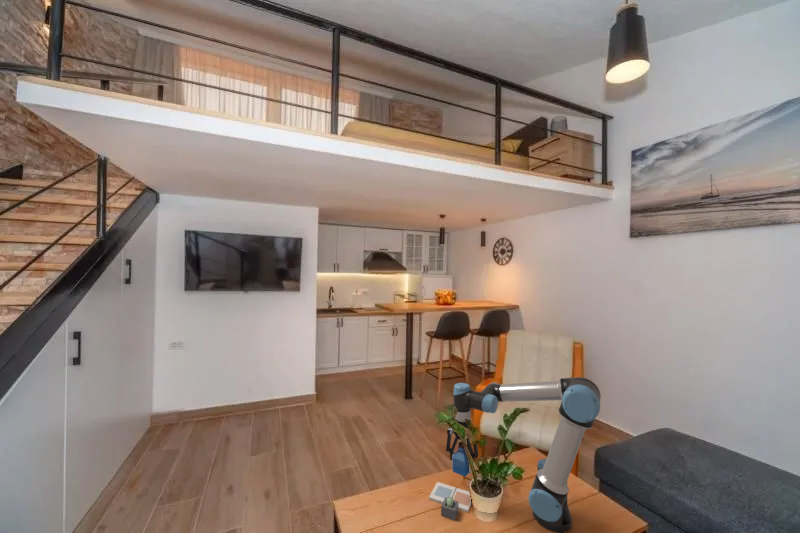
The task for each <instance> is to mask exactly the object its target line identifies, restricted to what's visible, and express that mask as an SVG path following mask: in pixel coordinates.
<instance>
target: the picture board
mask: <svg viewBox="0 0 800 533" xmlns="http://www.w3.org/2000/svg"><path fill="white" fill-rule="evenodd" d="M469 492H470V491H468V490H464V489H462V488H458V487H455V486H453V485H452V486H451V485H449V484H447V483H443V482H440V481H437V482H436V483H435V485H434V487H433V489H432V491H431V493H430V495H429V496H428V500H430V501H433V502H435V503H439V504H441V505H442V504H443V501H444V499H445V497H446V498H448V497H452V498H453V500H455V501H458V502H459V508H458V511H462V512H464V513H469V511H470V507H471V505H472V502H471V497H470V493H469Z"/></svg>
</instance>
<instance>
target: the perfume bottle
mask: <svg viewBox="0 0 800 533" xmlns="http://www.w3.org/2000/svg"><path fill="white" fill-rule="evenodd" d="M462 442H463V441H460V442H457V443H458V446H457V450H456V451H455V455H454V457H453V469H452V473H455V474H457V475H460V476H461V477H462V476H463V477H467V476H468V475H469V474H470V473H469V462H468V458H467V455H466V452H465V449H464V446H463V444H462Z"/></svg>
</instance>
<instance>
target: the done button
mask: <svg viewBox="0 0 800 533" xmlns="http://www.w3.org/2000/svg"><path fill="white" fill-rule="evenodd" d="M447 506H448V507H451V508H453V498H452V497H448V498H447Z"/></svg>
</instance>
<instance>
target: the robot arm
mask: <svg viewBox="0 0 800 533" xmlns="http://www.w3.org/2000/svg"><path fill="white" fill-rule="evenodd" d="M452 395H453V407H454V406H455V407H456V408H457V409H458V413H457V415H456V417H455V419H456V421H457V422H458V423H459V424H461V425H463V426H464V427H466V428H468V427H467V424H466V421H465V419H467V420H469V422H470V423H471V409H472V410H477V411H479V412H484V413H486V414H495V413H496V412H497V410H498V406H499V404H498V403H501V402H502V403H504V402H534V401H535V402H536V401H538V402H539V401H540V402H541V401H542V402H543V401H547V402H548V401H549V402H550V401H561V402H560V405H559V408H558V413H559V416H560V419H559V423H558V425H557V427H556V430H555V434H554V437H553V438H552V443H551V445H550V448H549V452H548V453H547V457H546V458H542V459H541V458H540V459H538V461H537V465H536V467H537V468H536V469H537V472H536V474H535V477H534V480H533V483H532V485H531V488H530V491H528V505H529V507H530V508H531V510H532V516H533V518H534V520H535V521H536V520H537V521H538V522H539V523H538V522H537V521H536V522H537V523H538V524H539V525H540V526H542V527H543V526H544V527H543V528H546V529H547V530H550V531H552V530H553V531H552V532H555V531H557V532H556V533H565V532H564V531H567V532H568V530H569V531H570V530H571V529H572V527H573V519H572V518H573V517H572V515H571V512H570V508H569V504H568V494H569V491H570V489H569V485H568V479H569V477H570V474H571V471H572V468H573V466H574V462H575V460H576V457H577V456H578V455H577V454H578V452H579V449H580V446H581V444H582V441H583V438H584V436H585V432H586V430H589V429H590V430H591V429H592V428H593V426H594V423H595V420H596V418H597V417H598V416H599V414H600V410H601V397H602V396H601V395H602V394H601V390H600V389H599V387H598V386H597V384H595V382H593V381H592V380H590V379H588V378H587V377H582V376H580V377H579V376H576V377H575V376H574V377H573V376H572V377H563V378H559V380H557V381H555V380H552V381H539V382H538V381H537V382H522V383H505V384H504V383H502V384H499V383H497V382H491V383H489V384H487V385H486V386H485V387H484V388H483V389H482V390H481V391H476V390H472V389H471V386H470V384H467V383H466V382H457V383H455V384H454V386H453V394H452ZM452 429H453V428H451V427H448V429H446V433H447V438H446V439H447V440H446V447H445V451H446V452H448V453H449V459H450V461H451V468H452V470H453V457H454V455H455V453H456V451H455V448H456V446H457V443H458V440H460V441H462V440H461V439H460V437H459V436H458V434H457V433H456V432H454V431H453V430H452ZM452 434H454V435H455V437H454V440H453V443H452V445H451V442H452ZM472 446H473V447H472ZM467 447H468V448H467ZM466 448H467V450H468V449H469V451H470V454H471V456H472V458H473V460H474V461H475V459H478V456H479V449H478V443H477V444H473V443H472V444H471V441H470V437H469V438H468V439H467V445H466ZM469 451H468V452H469ZM468 474H469V475H470V474H472V471H471V469H470V465H469V473H468Z"/></svg>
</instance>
